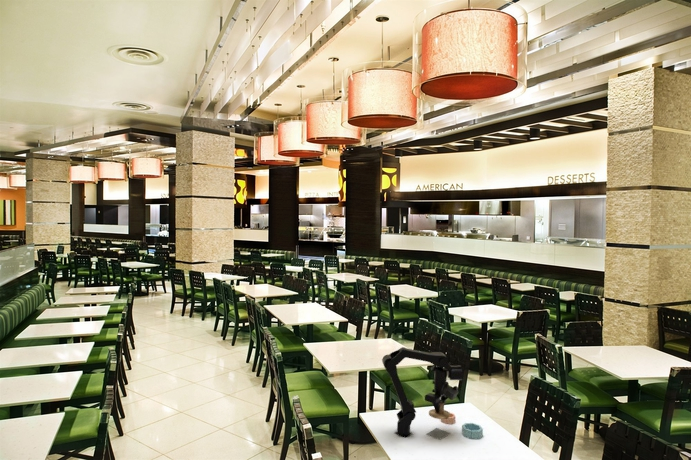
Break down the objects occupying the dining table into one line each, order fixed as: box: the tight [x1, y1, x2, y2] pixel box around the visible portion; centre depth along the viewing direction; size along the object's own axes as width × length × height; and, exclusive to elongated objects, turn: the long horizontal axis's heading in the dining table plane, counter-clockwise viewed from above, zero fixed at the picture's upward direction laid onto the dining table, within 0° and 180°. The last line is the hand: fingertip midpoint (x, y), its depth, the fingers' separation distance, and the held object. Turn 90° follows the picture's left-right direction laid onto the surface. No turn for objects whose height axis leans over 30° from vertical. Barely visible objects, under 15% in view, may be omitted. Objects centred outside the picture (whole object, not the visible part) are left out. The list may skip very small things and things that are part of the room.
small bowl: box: [440, 411, 456, 425], centre depth 237 cm, size 7×7×4 cm
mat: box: [425, 427, 452, 441], centre depth 223 cm, size 10×8×1 cm
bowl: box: [461, 422, 484, 440], centre depth 223 cm, size 9×9×4 cm
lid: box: [428, 402, 451, 420], centre depth 222 cm, size 10×10×6 cm
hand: (439, 411), depth 222 cm, fingers closed on lid, 3 cm apart
